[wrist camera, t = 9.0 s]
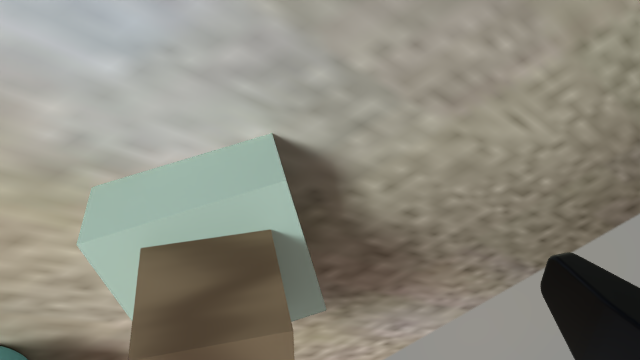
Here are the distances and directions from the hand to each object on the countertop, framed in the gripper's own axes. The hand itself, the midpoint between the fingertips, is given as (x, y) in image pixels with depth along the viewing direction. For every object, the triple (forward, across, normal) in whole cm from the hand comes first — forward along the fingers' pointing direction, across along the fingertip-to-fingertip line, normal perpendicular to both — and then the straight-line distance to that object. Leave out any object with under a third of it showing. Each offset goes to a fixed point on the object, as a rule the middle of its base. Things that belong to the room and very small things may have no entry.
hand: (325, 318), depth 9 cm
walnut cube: (+9, +3, +8) cm, 12 cm away
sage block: (+13, +3, +8) cm, 15 cm away
